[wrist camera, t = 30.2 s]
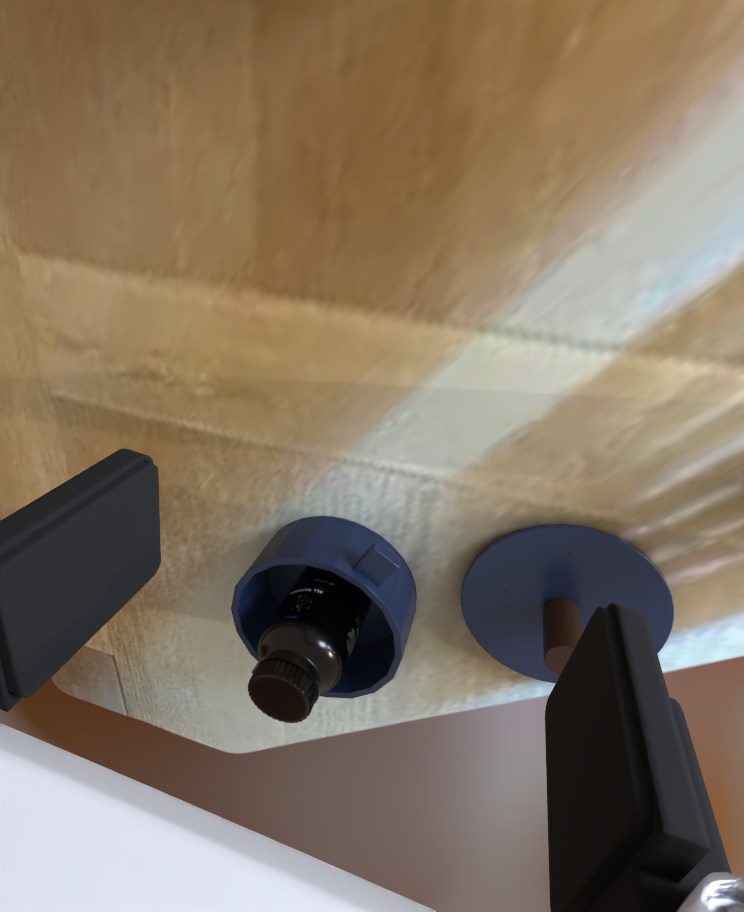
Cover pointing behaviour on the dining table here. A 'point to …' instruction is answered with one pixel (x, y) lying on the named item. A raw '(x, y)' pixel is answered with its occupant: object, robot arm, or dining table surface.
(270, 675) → the supplement bottle
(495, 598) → the pan lid
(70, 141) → the dining table surface
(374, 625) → the pan
